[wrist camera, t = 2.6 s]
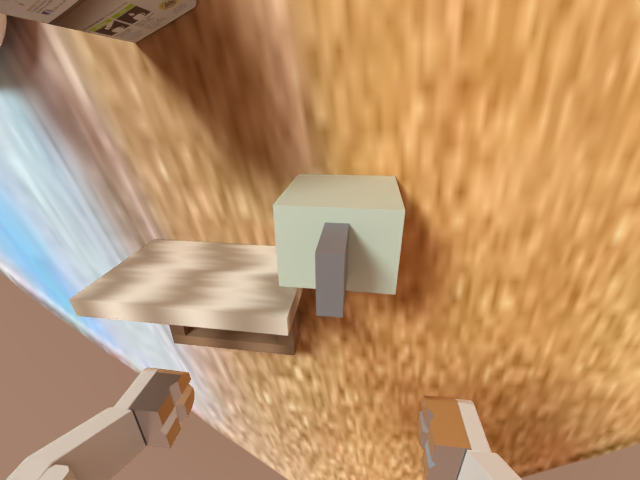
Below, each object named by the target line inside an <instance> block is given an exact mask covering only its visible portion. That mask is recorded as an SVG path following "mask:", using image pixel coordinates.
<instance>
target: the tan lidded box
mask: <svg viewBox="0 0 640 480" xmlns="http://www.w3.org/2000/svg"><path fill="white" fill-rule="evenodd" d="M302 292H303V288H298V287H284V286H279V278H278V265H277V253H276V246H264V245H247V244H229V243H211V242H193V241H176V240H158V239H154V240H153V241H151V242H150V243H148V244H147V245H146V246H144V247H143V248H141V249H140V250H139V251H137V252H136V253H134V254H133V255H131V256H130V257H129V258H127V259H126V260H124V261H123V262H122V263H120V264H119V265H117V266H116V267H114V268H113V269H112V270H110V271H109V272H107V273H106V274H104V275H103V276H102V277H100V278H99V279H97V280H96V281H95V282H93V283H92V284H90V285H89V286H87V287H86V288H85V289H83V290H82V291H80V292H79V293H78V294H76V295H75V296H73V297H72V298H70V299H69V300H70V302H71V304H72V306H73V309H74V311H75V313H76V315H77V316H84V317H94V318H105V319H116V320H126V321H137V322H148V323H158V324H169V326H170V329H171V333H172V336H173V340H174V343H179V344H188V345H198V346H208V347H218V348H228V349H238V350H247V351H257V352H267V353H277V354H287V355H295V351H296V348H297V344H298V341H299V337H300V319H299V301H300V298H301V295H302Z"/></svg>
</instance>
